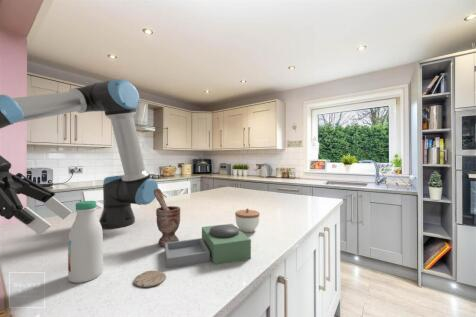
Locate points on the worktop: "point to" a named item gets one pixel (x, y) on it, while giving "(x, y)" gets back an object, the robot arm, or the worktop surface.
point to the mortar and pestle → (166, 219)
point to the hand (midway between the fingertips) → (58, 222)
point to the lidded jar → (247, 220)
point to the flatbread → (149, 278)
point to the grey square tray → (186, 252)
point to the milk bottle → (85, 244)
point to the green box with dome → (226, 243)
